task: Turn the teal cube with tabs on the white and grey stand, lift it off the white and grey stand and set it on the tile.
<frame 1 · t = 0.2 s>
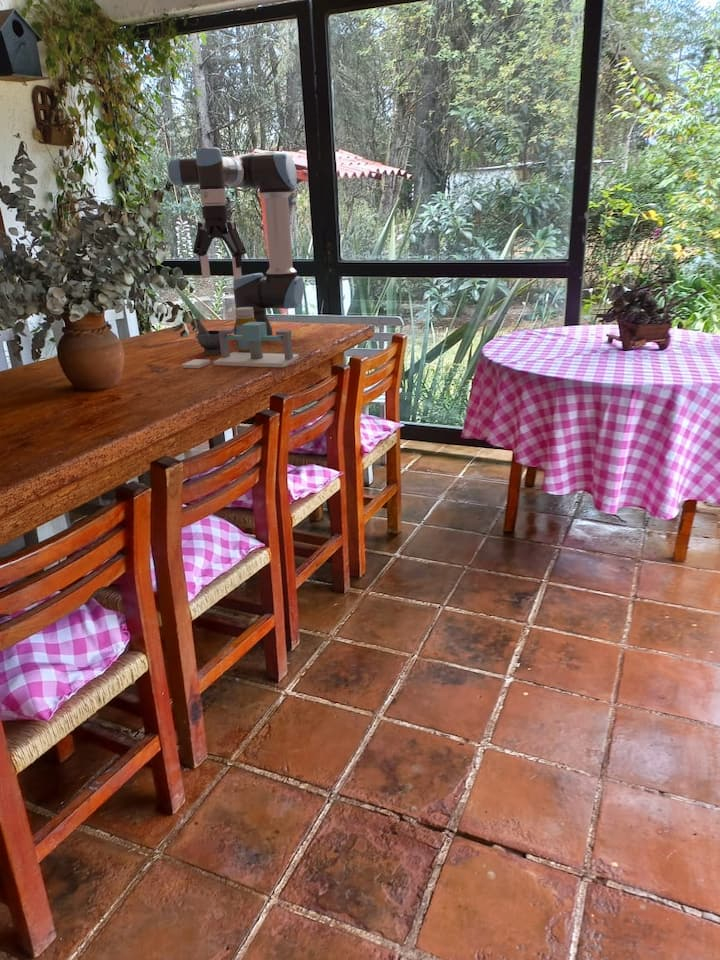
hand: (222, 278, 217), 27 cm above the table, fingers open, 13 cm apart
tile: (196, 365, 228), on the table
bottle: (248, 351, 246), on the table
mortar and pestle: (211, 352, 247), on the table
white and grey stand: (257, 361, 230), on the table
teal cube with tabs: (255, 339, 227), point 7 cm above the table, touching white and grey stand
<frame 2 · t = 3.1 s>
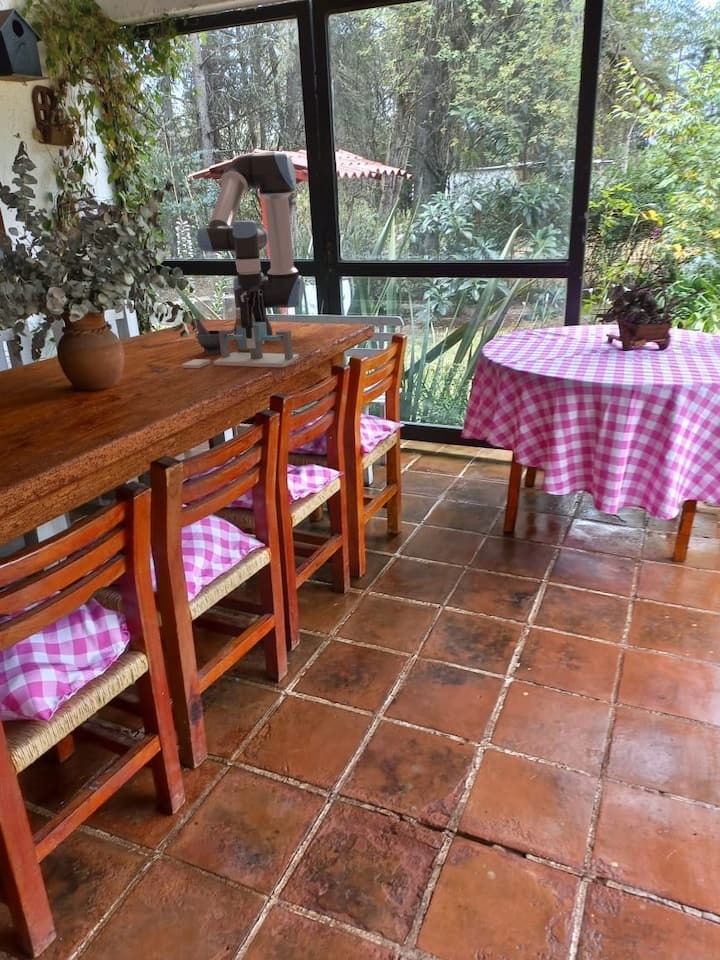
hand: (255, 345, 228), 5 cm above the table, fingers closed on teal cube with tabs, 6 cm apart
teal cube with tabs: (255, 339, 227), point 7 cm above the table, touching gripper, white and grey stand
everything else where it was.
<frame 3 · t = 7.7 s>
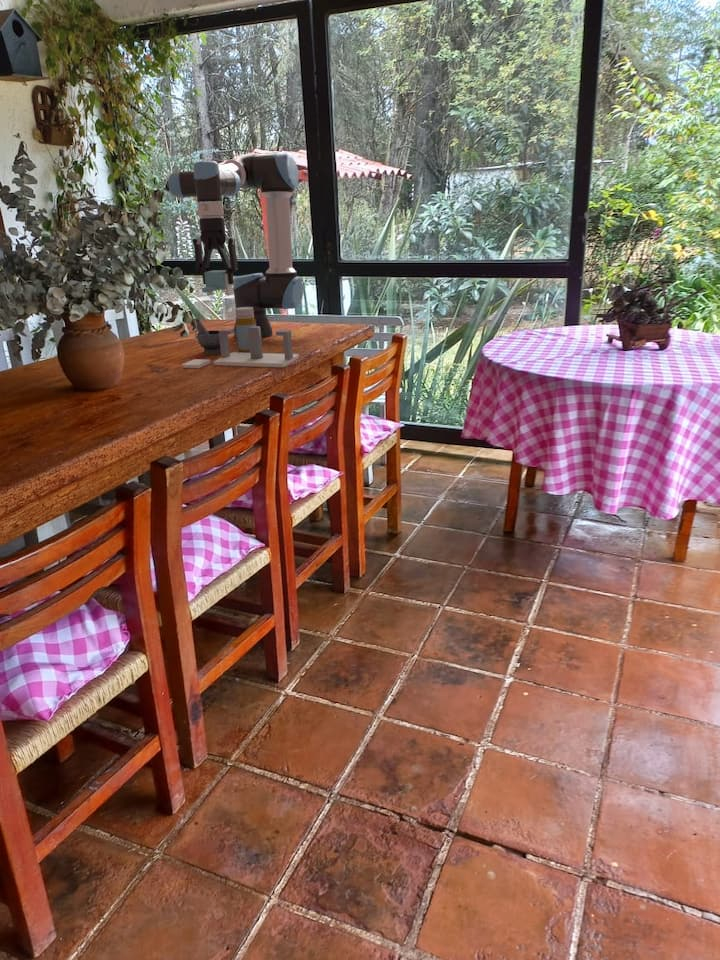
hand: (219, 294, 221), 22 cm above the table, fingers closed on teal cube with tabs, 6 cm apart
teal cube with tabs: (219, 288, 220), point 24 cm above the table, touching gripper
everything else where it was.
when the fingers open (1 cm above the table, at t = 12.6 s): teal cube with tabs drops 2 cm, resting on tile.
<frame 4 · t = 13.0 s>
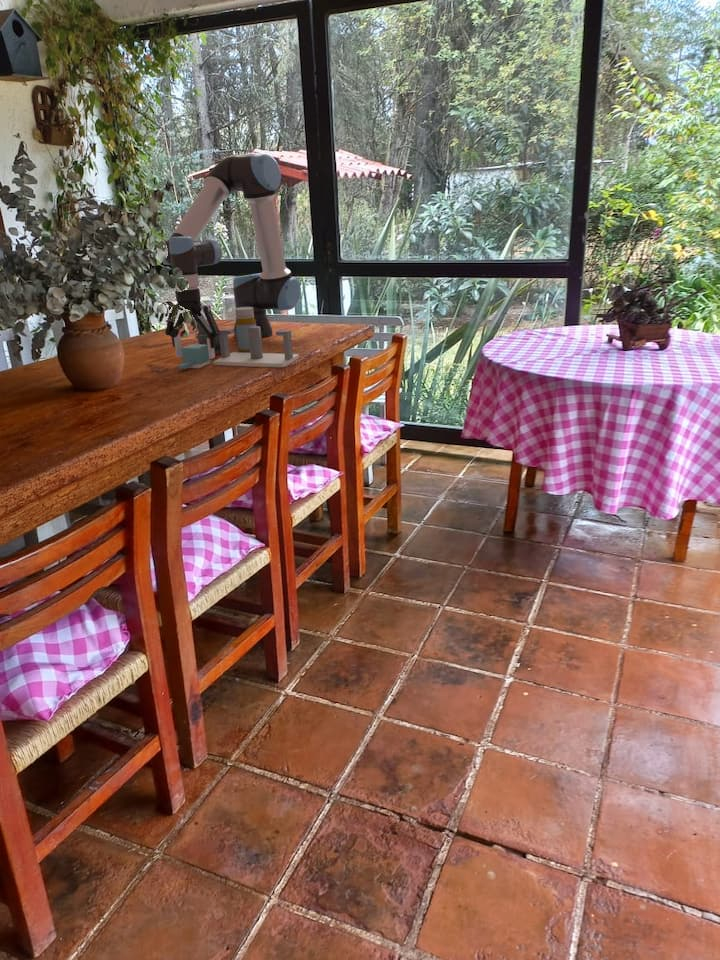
hand: (195, 357, 227), 3 cm above the table, fingers open, 11 cm apart
teal cube with tabs: (196, 362, 228), point 1 cm above the table, touching tile
everything else where it was.
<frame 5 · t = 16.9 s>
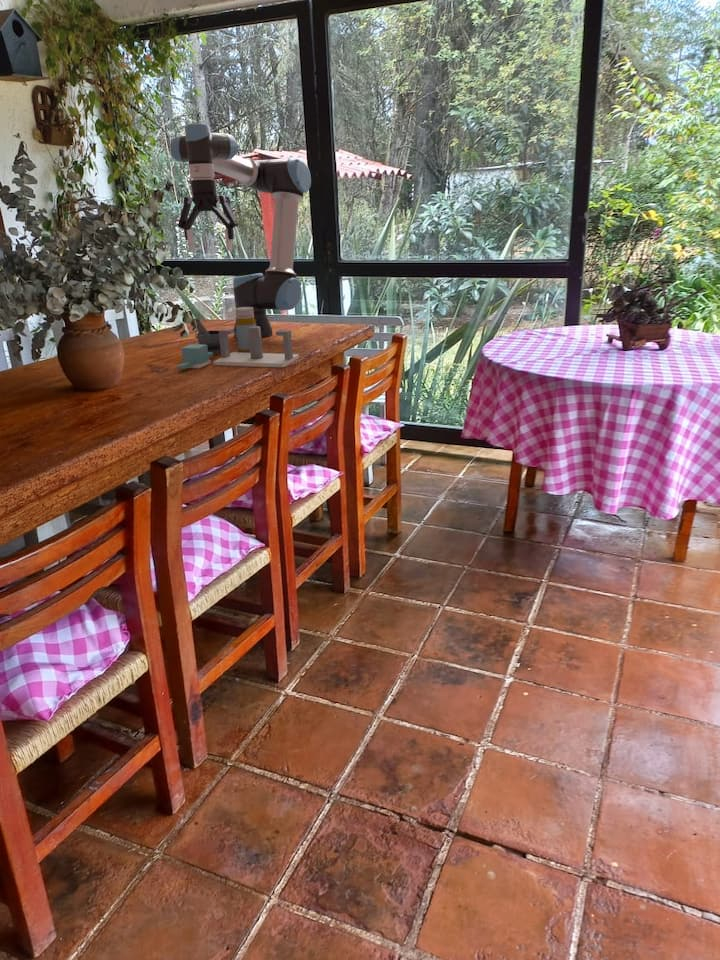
hand: (210, 250, 225), 35 cm above the table, fingers open, 13 cm apart
nothing on the table moved.
at the end: teal cube with tabs inside the target area on the tile (0.0 cm from its centre), point 1.0 cm above the tile's base; teal cube with tabs tilted 0°; teal cube with tabs touching tile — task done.
